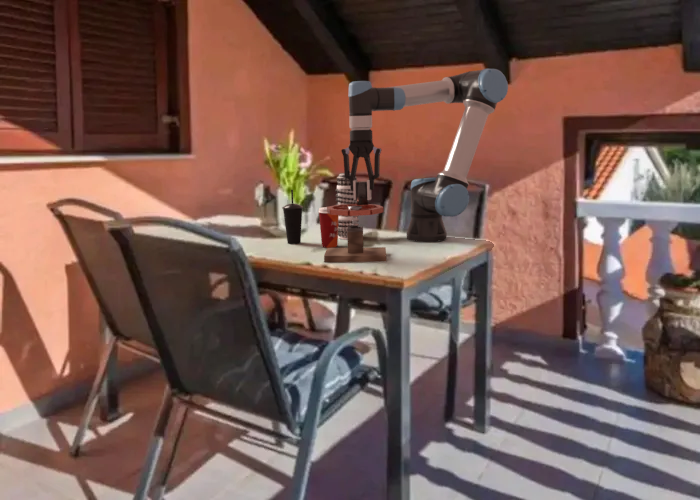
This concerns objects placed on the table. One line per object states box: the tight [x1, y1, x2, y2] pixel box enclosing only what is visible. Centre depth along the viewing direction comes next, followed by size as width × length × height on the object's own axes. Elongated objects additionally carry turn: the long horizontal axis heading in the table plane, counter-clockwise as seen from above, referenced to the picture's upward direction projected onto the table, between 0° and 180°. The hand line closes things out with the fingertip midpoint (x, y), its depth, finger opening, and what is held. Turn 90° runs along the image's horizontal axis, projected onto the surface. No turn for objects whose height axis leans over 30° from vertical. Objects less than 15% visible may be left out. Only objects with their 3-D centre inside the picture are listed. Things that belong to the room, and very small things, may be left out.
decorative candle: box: [334, 172, 360, 241], centre depth 259 cm, size 9×9×25 cm
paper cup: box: [318, 206, 339, 249], centre depth 242 cm, size 8×8×14 cm
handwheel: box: [326, 181, 384, 228], centre depth 219 cm, size 18×18×15 cm
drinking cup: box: [281, 189, 304, 245], centre depth 250 cm, size 8×8×20 cm
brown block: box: [323, 225, 387, 263], centre depth 222 cm, size 20×14×10 cm
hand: (362, 199), depth 226 cm, fingers closed on handwheel, 4 cm apart
